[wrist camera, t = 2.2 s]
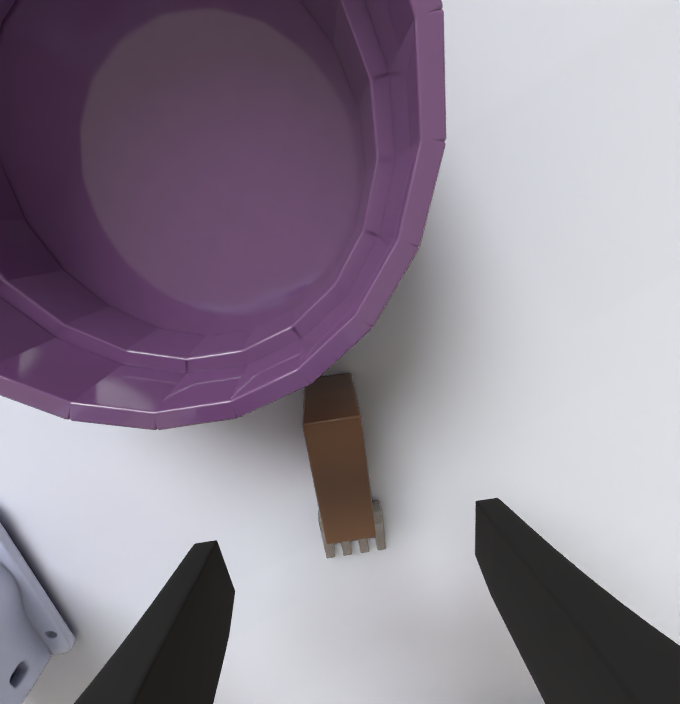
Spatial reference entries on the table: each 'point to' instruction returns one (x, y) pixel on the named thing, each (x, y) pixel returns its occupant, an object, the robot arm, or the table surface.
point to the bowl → (206, 195)
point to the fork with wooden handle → (340, 465)
